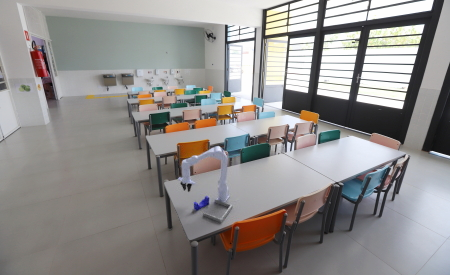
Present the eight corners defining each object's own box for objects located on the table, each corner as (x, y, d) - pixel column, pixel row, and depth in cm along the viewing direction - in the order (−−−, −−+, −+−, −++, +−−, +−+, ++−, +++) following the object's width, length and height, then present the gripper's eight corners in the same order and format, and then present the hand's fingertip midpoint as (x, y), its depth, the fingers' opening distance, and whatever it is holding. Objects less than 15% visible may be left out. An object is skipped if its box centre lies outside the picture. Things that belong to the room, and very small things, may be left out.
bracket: (215, 201, 172) (215, 199, 171) (232, 207, 166) (232, 204, 165) (203, 215, 157) (203, 213, 156) (221, 222, 151) (221, 219, 150)
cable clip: (205, 201, 173) (205, 194, 171) (209, 204, 170) (209, 197, 168) (192, 208, 165) (192, 201, 163) (196, 211, 162) (196, 204, 160)
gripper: (174, 175, 164) (176, 190, 169) (191, 180, 158) (191, 196, 163) (180, 170, 170) (181, 186, 175) (196, 175, 164) (197, 191, 169)
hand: (187, 190), depth 169 cm, fingers open, 3 cm apart
